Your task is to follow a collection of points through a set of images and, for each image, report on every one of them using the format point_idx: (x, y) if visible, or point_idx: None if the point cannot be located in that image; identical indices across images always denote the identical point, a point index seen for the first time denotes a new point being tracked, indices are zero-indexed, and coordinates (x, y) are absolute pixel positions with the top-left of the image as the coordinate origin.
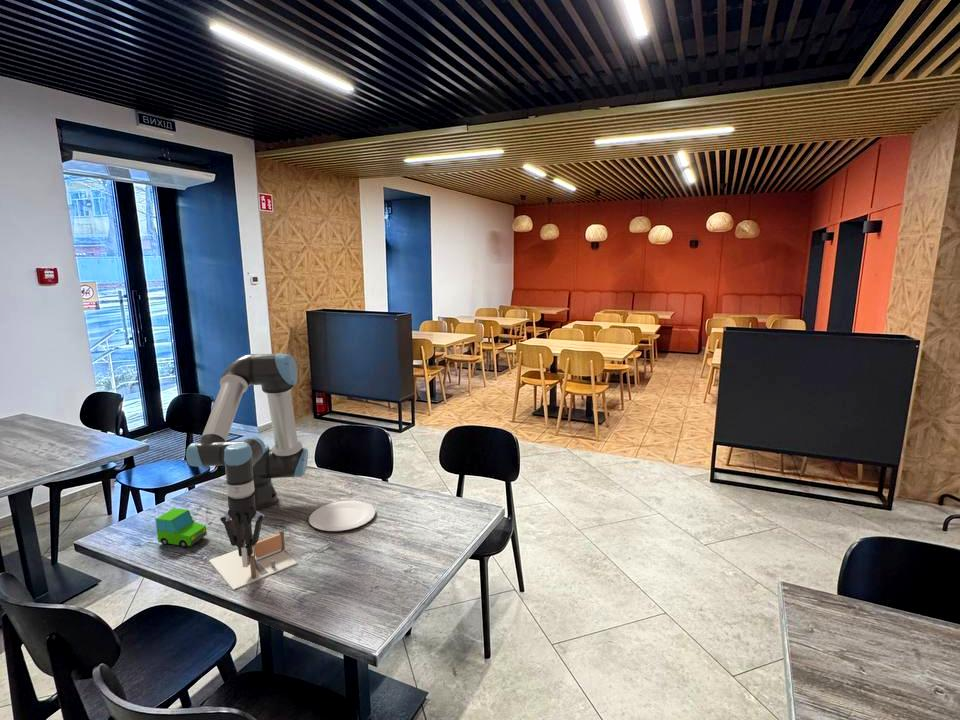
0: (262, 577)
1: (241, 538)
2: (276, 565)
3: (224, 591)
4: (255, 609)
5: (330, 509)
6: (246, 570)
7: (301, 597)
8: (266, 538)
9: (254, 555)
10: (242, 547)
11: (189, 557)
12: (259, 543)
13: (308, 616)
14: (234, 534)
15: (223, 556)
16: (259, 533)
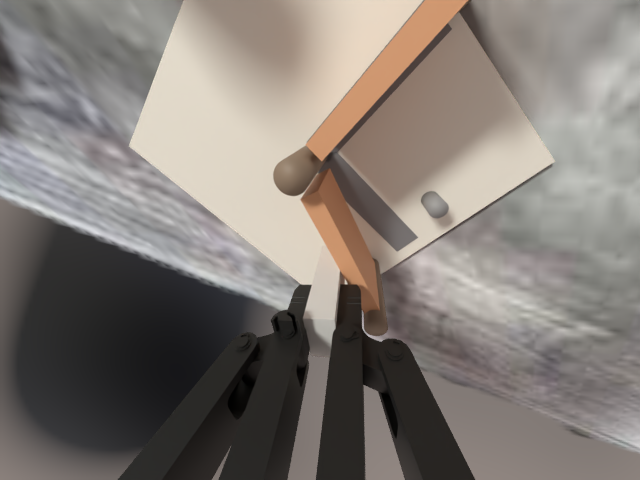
0: (401, 260)
1: (296, 414)
2: (442, 186)
3: None
4: (421, 366)
5: None
6: None
7: (553, 347)
8: (377, 66)
9: (324, 160)
10: (314, 352)
11: (36, 115)
12: (341, 138)
13: (567, 400)
14: (220, 426)
15: (160, 111)
16: (445, 428)
